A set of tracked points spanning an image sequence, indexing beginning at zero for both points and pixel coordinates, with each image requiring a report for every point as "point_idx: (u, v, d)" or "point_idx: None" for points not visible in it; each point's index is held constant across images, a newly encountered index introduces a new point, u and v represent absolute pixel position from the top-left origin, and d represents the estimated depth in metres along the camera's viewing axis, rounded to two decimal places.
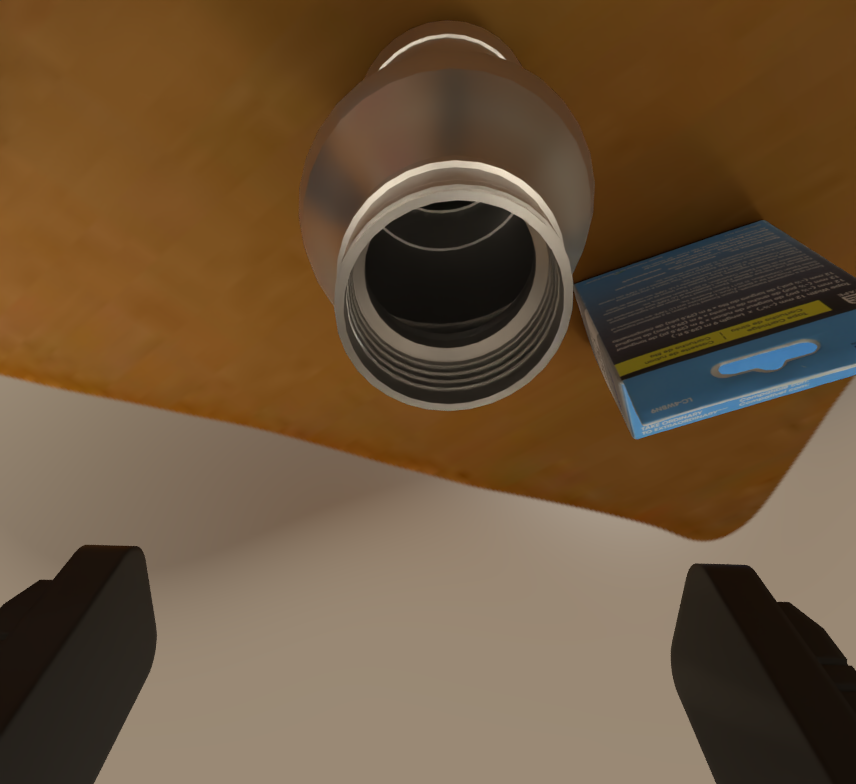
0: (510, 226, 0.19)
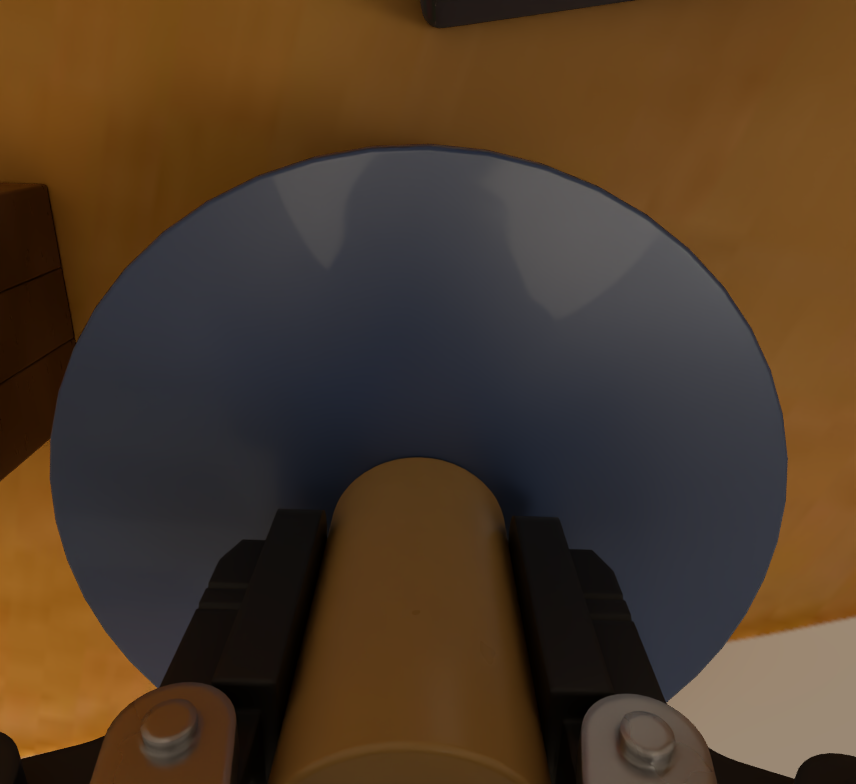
0: None
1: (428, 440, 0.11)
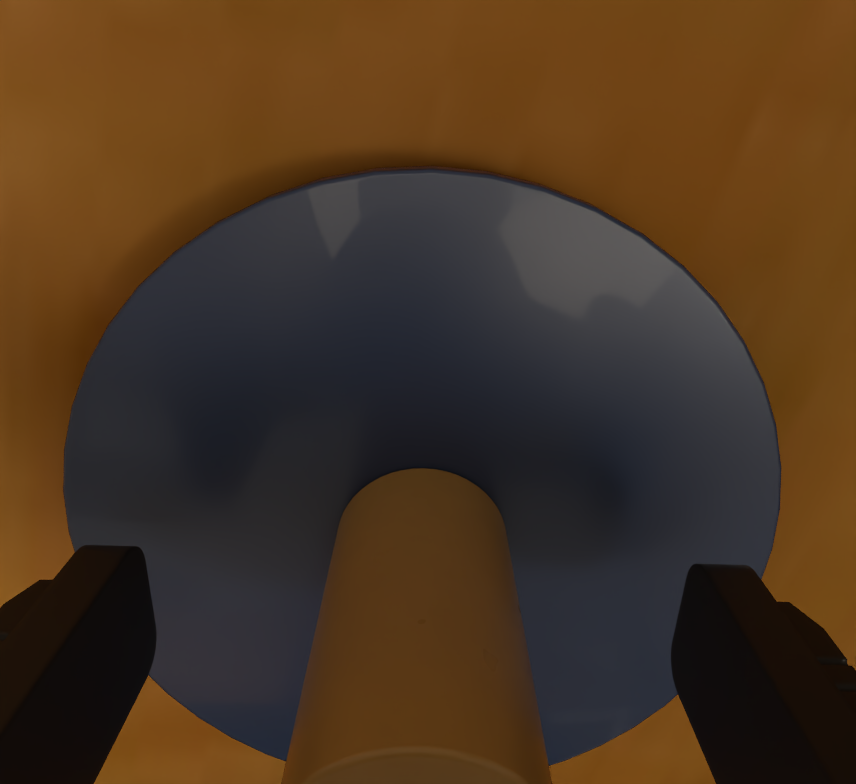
0: None
1: (431, 451, 0.11)
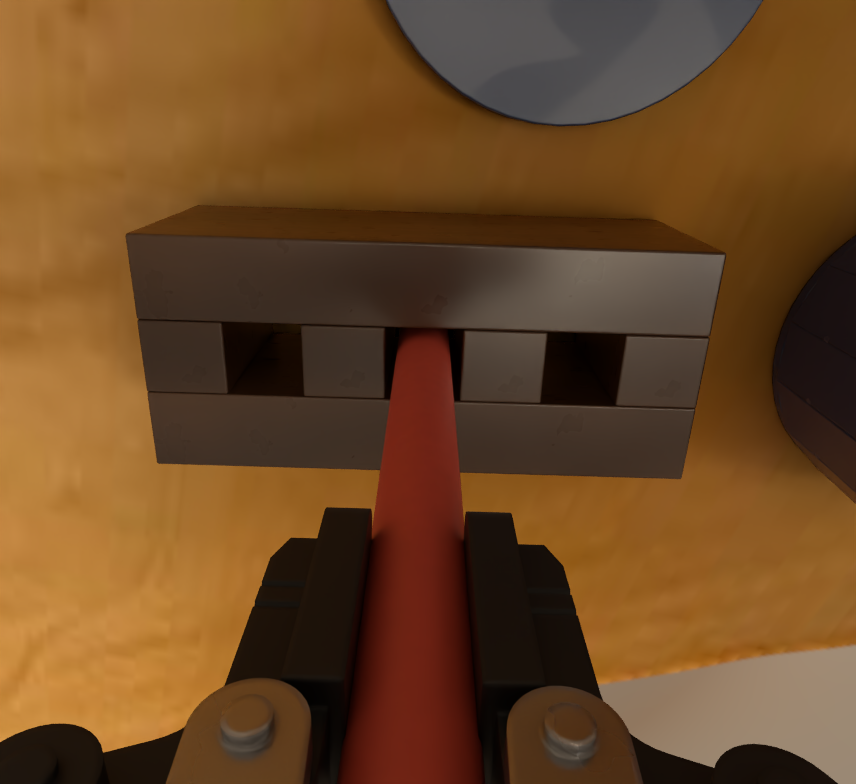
0: None
1: None
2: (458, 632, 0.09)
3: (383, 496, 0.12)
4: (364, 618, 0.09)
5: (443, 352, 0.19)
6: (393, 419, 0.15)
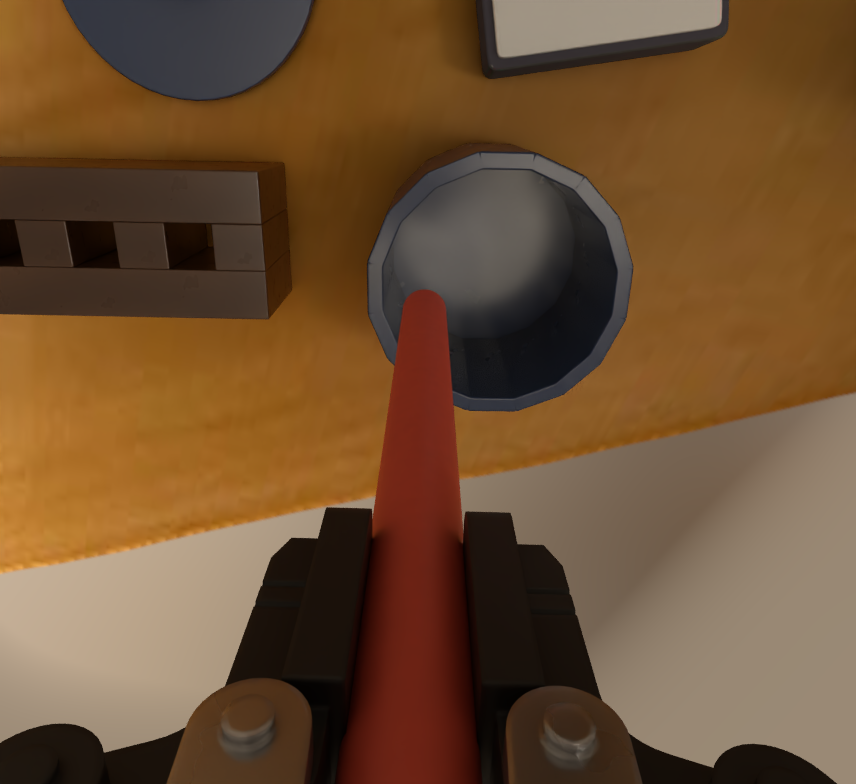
0: None
1: None
2: (456, 634, 0.09)
3: (382, 498, 0.12)
4: (362, 620, 0.09)
5: (442, 353, 0.19)
6: (392, 421, 0.15)
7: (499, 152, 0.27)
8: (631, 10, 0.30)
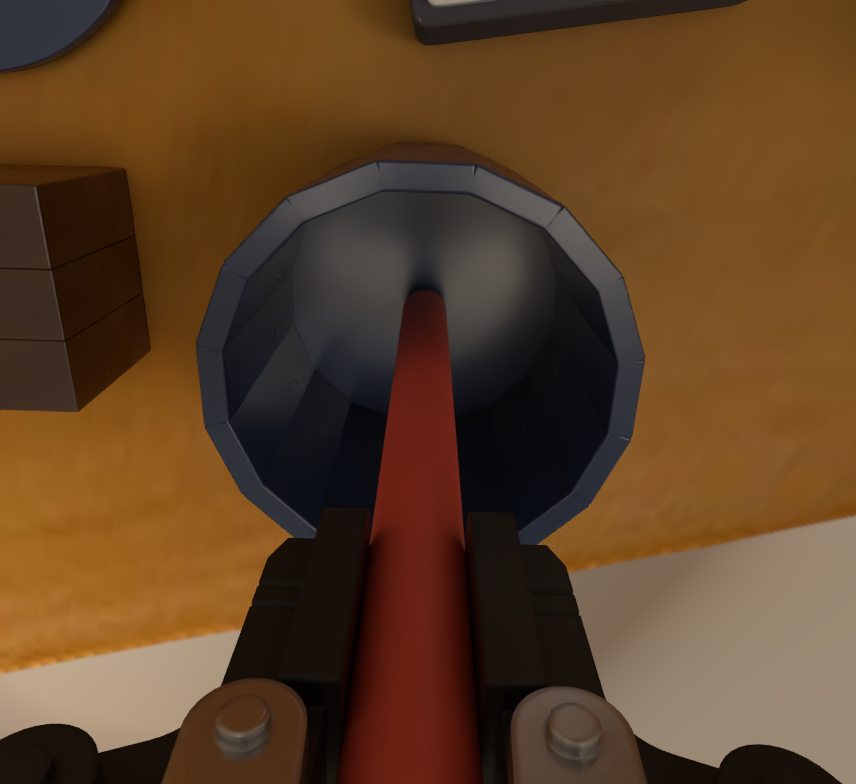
0: None
1: None
2: (457, 635, 0.09)
3: (382, 498, 0.12)
4: (363, 621, 0.09)
5: (443, 354, 0.19)
6: (393, 421, 0.15)
7: (412, 162, 0.15)
8: None
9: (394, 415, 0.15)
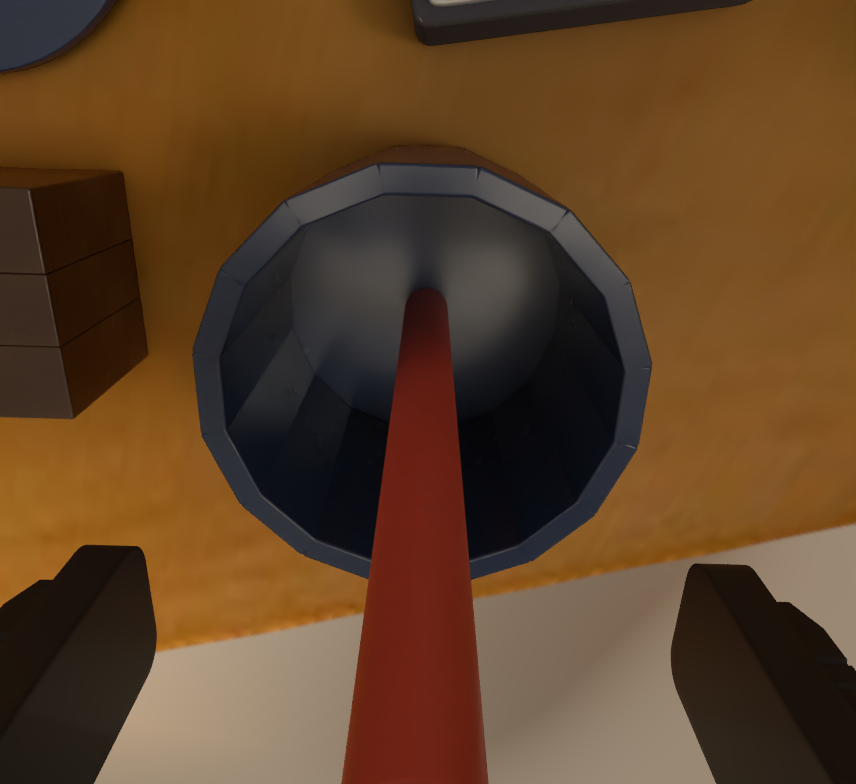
0: None
1: None
2: (460, 613, 0.09)
3: (387, 487, 0.12)
4: (370, 601, 0.09)
5: (444, 350, 0.19)
6: (396, 415, 0.15)
7: (414, 165, 0.15)
8: None
9: (397, 409, 0.15)
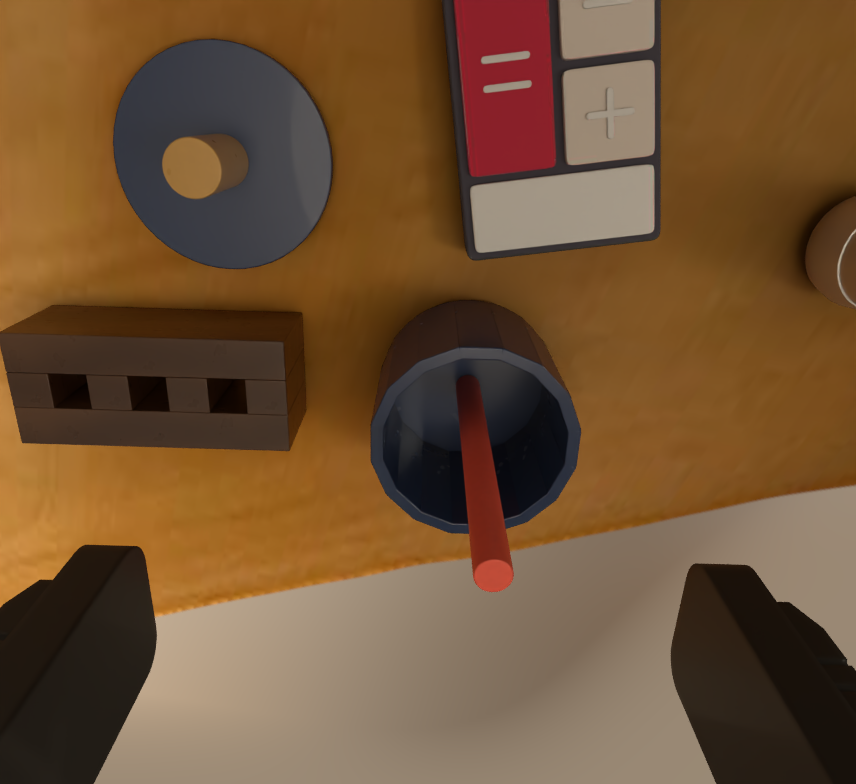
0: None
1: (222, 128, 0.38)
2: (501, 526, 0.29)
3: (470, 486, 0.32)
4: (472, 523, 0.29)
5: (483, 418, 0.39)
6: (467, 454, 0.35)
7: (475, 347, 0.34)
8: (582, 220, 0.37)
9: (467, 452, 0.35)
